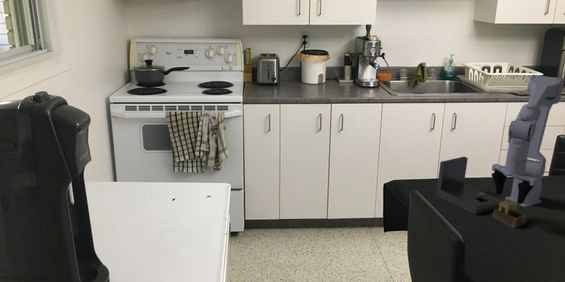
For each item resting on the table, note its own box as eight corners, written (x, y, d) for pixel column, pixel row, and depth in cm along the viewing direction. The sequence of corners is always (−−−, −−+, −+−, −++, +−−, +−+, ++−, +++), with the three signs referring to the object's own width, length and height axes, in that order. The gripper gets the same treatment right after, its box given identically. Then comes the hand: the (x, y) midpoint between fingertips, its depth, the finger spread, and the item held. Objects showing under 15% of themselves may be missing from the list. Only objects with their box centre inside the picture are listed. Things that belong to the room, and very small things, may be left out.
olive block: (505, 215, 159) (508, 199, 157) (514, 219, 156) (517, 202, 154) (497, 218, 157) (499, 201, 155) (505, 222, 154) (508, 205, 152)
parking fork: (503, 214, 160) (504, 206, 159) (525, 224, 154) (526, 216, 153) (492, 217, 158) (493, 209, 157) (514, 228, 151) (515, 219, 150)
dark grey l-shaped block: (459, 189, 179) (464, 156, 175) (499, 207, 165) (505, 172, 161) (436, 195, 173) (440, 161, 169) (475, 215, 159) (480, 178, 155)
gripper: (488, 153, 154) (481, 192, 158) (530, 167, 142) (522, 210, 146) (502, 150, 157) (496, 188, 162) (544, 164, 145) (536, 205, 150)
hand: (509, 198), depth 154 cm, fingers open, 7 cm apart
